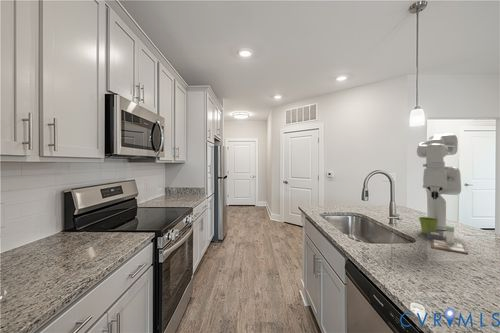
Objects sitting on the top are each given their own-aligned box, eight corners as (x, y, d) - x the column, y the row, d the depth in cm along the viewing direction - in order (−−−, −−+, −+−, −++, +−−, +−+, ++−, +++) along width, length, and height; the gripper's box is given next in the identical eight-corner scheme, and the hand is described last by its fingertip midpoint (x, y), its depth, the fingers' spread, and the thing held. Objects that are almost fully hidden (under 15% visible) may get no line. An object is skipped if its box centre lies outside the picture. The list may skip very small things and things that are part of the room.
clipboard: (431, 239, 124) (431, 237, 124) (463, 244, 116) (463, 242, 116) (431, 248, 112) (431, 245, 112) (467, 254, 103) (467, 251, 103)
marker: (446, 241, 118) (445, 225, 118) (453, 243, 116) (453, 226, 116) (446, 243, 116) (446, 227, 116) (454, 244, 114) (454, 228, 114)
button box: (427, 235, 131) (427, 230, 131) (442, 238, 127) (442, 233, 127) (426, 238, 126) (426, 233, 126) (443, 241, 122) (443, 236, 122)
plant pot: (442, 235, 131) (442, 220, 131) (426, 235, 132) (426, 220, 132) (430, 230, 141) (430, 217, 141) (414, 231, 141) (414, 217, 141)
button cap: (430, 235, 129) (430, 231, 129) (439, 237, 127) (439, 232, 127) (430, 237, 126) (430, 233, 126) (439, 239, 124) (439, 234, 124)
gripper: (417, 166, 128) (417, 198, 128) (453, 166, 119) (453, 201, 119) (418, 166, 134) (418, 197, 134) (452, 166, 125) (452, 199, 125)
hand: (434, 198), depth 126 cm, fingers closed
